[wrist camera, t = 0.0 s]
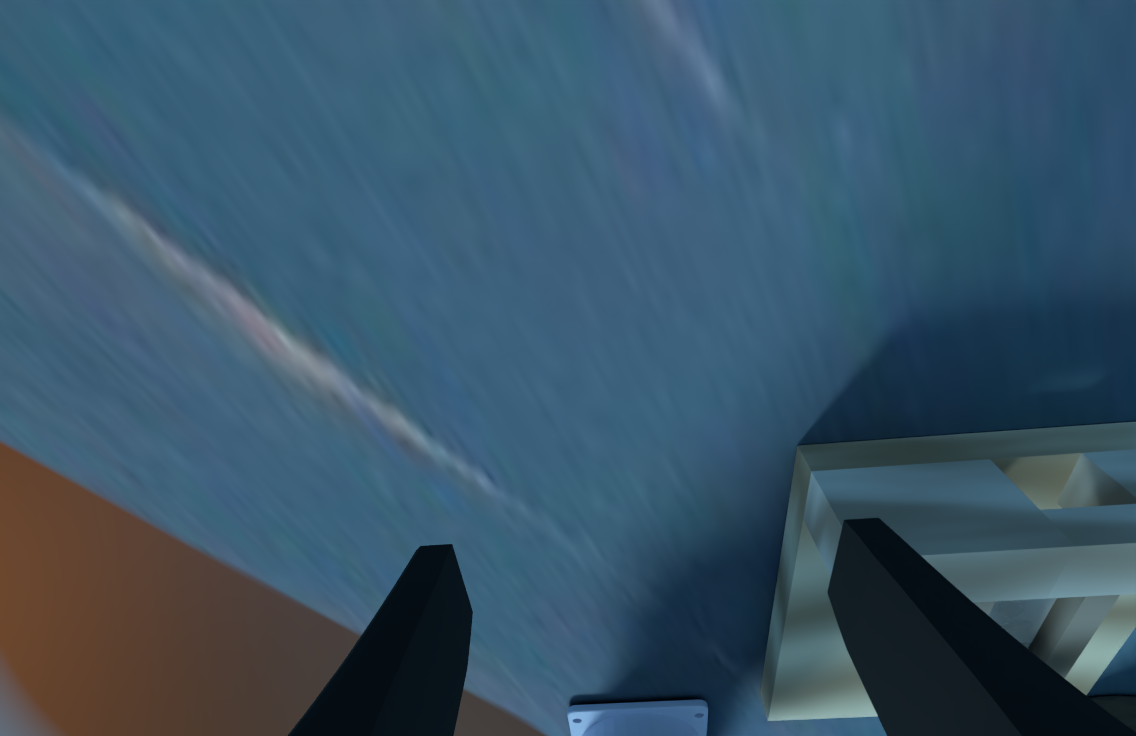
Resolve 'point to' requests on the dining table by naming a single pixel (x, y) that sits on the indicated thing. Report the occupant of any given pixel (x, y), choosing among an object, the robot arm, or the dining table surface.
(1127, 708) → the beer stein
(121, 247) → the dining table surface
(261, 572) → the dining table surface
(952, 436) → the door board
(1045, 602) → the bolt
